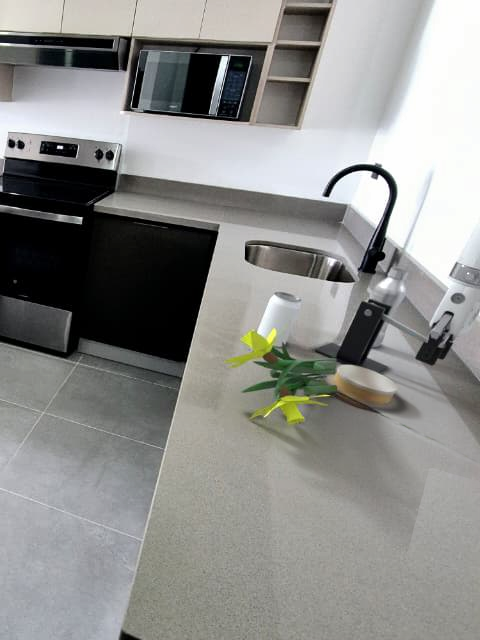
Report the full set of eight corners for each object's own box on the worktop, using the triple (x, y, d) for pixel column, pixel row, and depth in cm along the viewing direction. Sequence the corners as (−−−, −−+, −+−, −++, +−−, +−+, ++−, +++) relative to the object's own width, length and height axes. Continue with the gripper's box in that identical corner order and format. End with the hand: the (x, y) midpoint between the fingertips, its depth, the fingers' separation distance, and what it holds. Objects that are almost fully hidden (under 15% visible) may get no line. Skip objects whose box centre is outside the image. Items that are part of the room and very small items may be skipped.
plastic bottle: (348, 344, 125) (384, 268, 117) (349, 336, 130) (383, 263, 122) (378, 353, 122) (417, 277, 114) (378, 345, 127) (415, 271, 119)
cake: (386, 387, 106) (394, 371, 104) (411, 422, 93) (421, 405, 92) (313, 368, 109) (320, 353, 108) (328, 400, 97) (337, 383, 95)
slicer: (385, 371, 113) (416, 311, 107) (369, 379, 108) (401, 317, 102) (330, 347, 122) (355, 291, 115) (313, 354, 116) (339, 295, 110)
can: (279, 352, 115) (299, 304, 110) (251, 340, 119) (268, 294, 114) (287, 344, 120) (306, 298, 115) (259, 334, 123) (276, 289, 118)
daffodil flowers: (377, 417, 94) (316, 429, 71) (292, 417, 105) (214, 428, 81) (363, 328, 97) (299, 312, 73) (281, 337, 107) (203, 326, 84)
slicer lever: (441, 351, 103) (450, 342, 102) (433, 356, 100) (441, 347, 99) (368, 310, 112) (375, 301, 111) (358, 313, 109) (365, 304, 108)
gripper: (489, 288, 88) (437, 376, 95) (511, 279, 97) (463, 360, 105) (438, 273, 93) (393, 358, 100) (464, 266, 103) (421, 344, 110)
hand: (429, 358), depth 103 cm, fingers closed on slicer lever, 5 cm apart
